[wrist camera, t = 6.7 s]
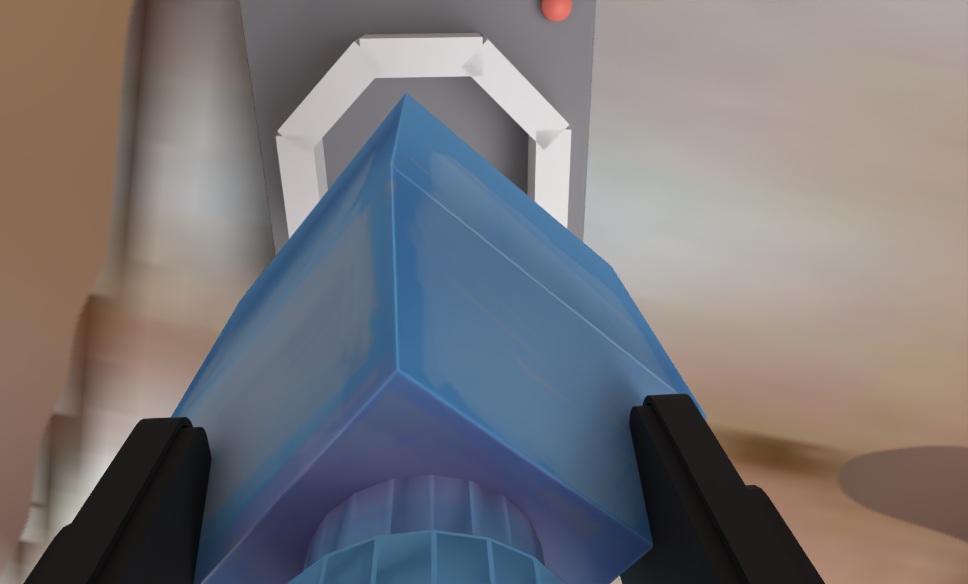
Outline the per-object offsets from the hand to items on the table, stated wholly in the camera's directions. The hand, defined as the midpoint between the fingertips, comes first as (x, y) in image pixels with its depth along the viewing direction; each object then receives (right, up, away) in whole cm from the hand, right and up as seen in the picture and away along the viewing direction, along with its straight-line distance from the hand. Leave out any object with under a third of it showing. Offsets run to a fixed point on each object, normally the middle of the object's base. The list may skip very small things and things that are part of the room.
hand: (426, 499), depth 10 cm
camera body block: (-2, +8, +19) cm, 21 cm away
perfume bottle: (-1, +3, +7) cm, 8 cm away
